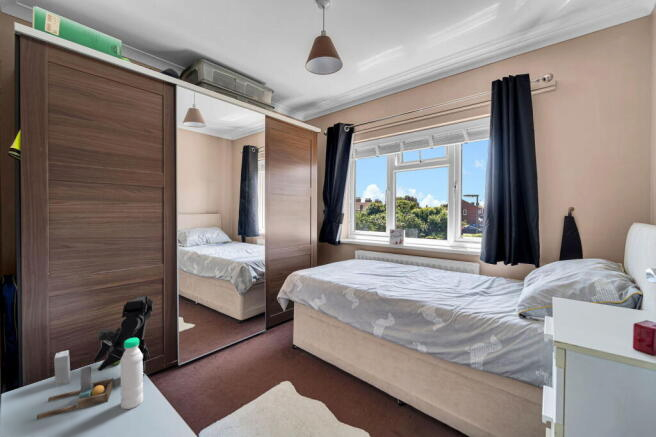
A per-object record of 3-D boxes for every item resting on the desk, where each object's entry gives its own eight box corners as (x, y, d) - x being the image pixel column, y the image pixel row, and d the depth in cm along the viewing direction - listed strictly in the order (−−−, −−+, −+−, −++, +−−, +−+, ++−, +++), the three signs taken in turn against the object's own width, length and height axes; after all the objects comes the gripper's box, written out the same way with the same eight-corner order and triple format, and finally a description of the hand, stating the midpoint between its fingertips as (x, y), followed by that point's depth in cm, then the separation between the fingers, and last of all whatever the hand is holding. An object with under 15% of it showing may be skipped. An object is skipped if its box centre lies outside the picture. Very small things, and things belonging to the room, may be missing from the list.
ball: (101, 381, 112) (90, 388, 110) (99, 386, 108) (87, 394, 107) (107, 388, 113) (96, 395, 111) (105, 393, 109) (94, 401, 108)
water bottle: (131, 411, 102) (130, 345, 101) (116, 408, 103) (115, 343, 102) (147, 398, 109) (147, 336, 108) (132, 395, 110) (132, 334, 109)
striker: (93, 391, 111) (93, 363, 111) (89, 401, 106) (89, 371, 106) (83, 394, 110) (82, 366, 109) (78, 403, 105) (78, 374, 104)
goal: (113, 385, 117) (113, 378, 116) (107, 401, 107) (107, 393, 107) (49, 400, 107) (49, 392, 107) (36, 419, 97) (36, 411, 97)
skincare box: (69, 383, 117) (68, 355, 117) (54, 387, 114) (53, 358, 114) (70, 376, 122) (70, 349, 122) (56, 379, 119) (55, 352, 119)
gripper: (106, 314, 120) (73, 349, 112) (117, 327, 107) (80, 367, 100) (129, 326, 126) (98, 360, 118) (141, 339, 113) (108, 378, 106)
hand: (96, 365), depth 110 cm, fingers open, 9 cm apart
